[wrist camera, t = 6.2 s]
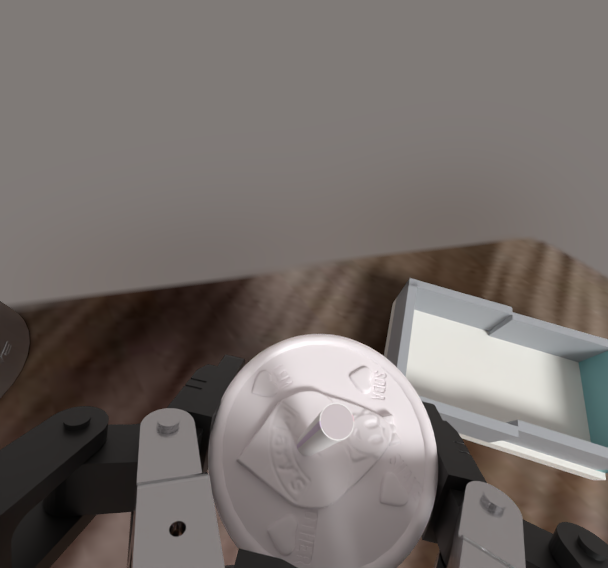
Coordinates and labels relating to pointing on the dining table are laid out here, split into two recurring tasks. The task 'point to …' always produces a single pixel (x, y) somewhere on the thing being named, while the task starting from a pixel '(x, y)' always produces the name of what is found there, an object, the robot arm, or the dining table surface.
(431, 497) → the smoothie
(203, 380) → the robot arm
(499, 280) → the dining table surface
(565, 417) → the grey tray
